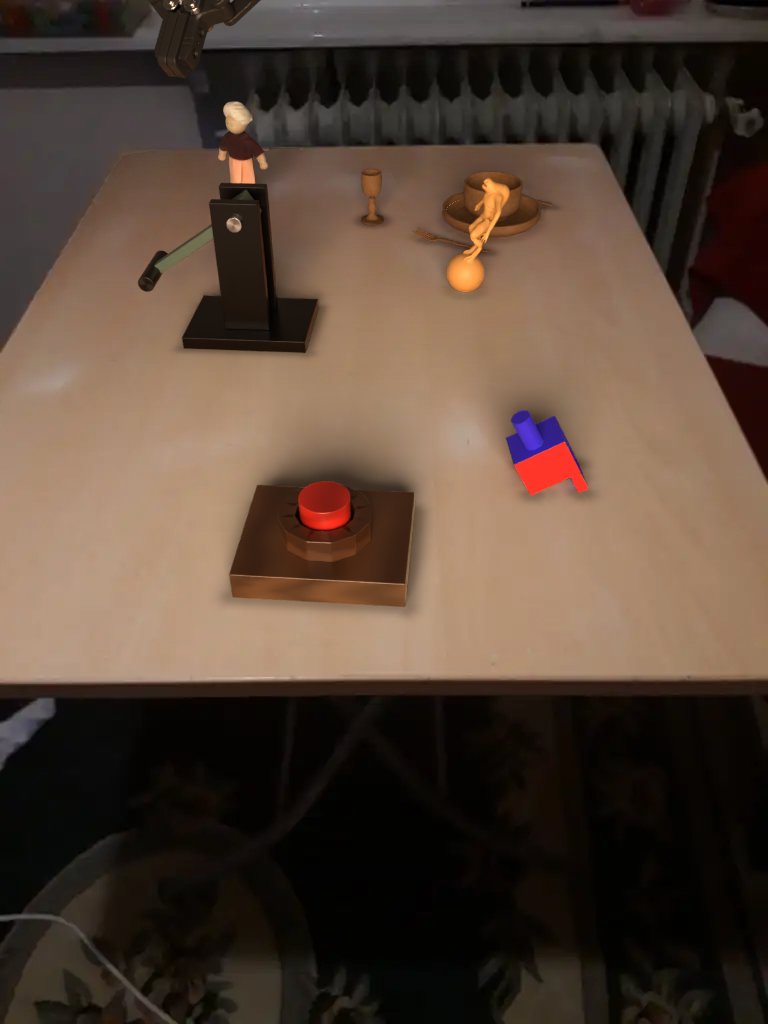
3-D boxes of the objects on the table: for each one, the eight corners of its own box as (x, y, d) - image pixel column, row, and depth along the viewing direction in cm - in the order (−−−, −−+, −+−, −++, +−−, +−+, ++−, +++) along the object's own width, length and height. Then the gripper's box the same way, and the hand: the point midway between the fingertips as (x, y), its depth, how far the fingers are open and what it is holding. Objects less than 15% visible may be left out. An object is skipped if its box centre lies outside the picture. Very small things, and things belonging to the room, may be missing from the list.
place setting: (503, 258, 107) (507, 208, 103) (354, 224, 115) (352, 175, 111) (563, 206, 119) (568, 159, 115) (423, 178, 127) (424, 133, 123)
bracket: (183, 348, 92) (160, 210, 83) (205, 305, 99) (186, 173, 90) (305, 353, 91) (295, 214, 82) (318, 309, 98) (310, 176, 89)
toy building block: (530, 482, 78) (491, 412, 73) (578, 461, 77) (541, 388, 72) (539, 510, 75) (499, 439, 70) (588, 488, 74) (551, 414, 69)
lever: (148, 298, 91) (131, 278, 89) (165, 270, 95) (148, 251, 94) (254, 228, 85) (237, 206, 84) (266, 202, 90) (250, 181, 89)
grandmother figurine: (211, 208, 119) (198, 102, 111) (227, 197, 122) (215, 93, 114) (265, 217, 117) (256, 110, 109) (280, 206, 120) (271, 100, 112)
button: (296, 531, 65) (294, 511, 64) (304, 498, 68) (302, 479, 67) (347, 533, 65) (347, 514, 64) (353, 501, 68) (352, 481, 67)
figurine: (443, 273, 104) (447, 163, 97) (498, 272, 104) (506, 163, 97) (448, 308, 98) (452, 194, 90) (506, 307, 98) (515, 193, 90)
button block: (232, 597, 66) (225, 554, 63) (259, 506, 73) (254, 465, 71) (405, 607, 65) (405, 564, 62) (414, 514, 72) (415, 472, 70)
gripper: (130, -201, 66) (63, 31, 65) (301, -199, 63) (233, 47, 62) (180, -119, 73) (121, 91, 73) (336, -113, 70) (276, 109, 69)
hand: (172, 70), depth 67 cm, fingers closed
